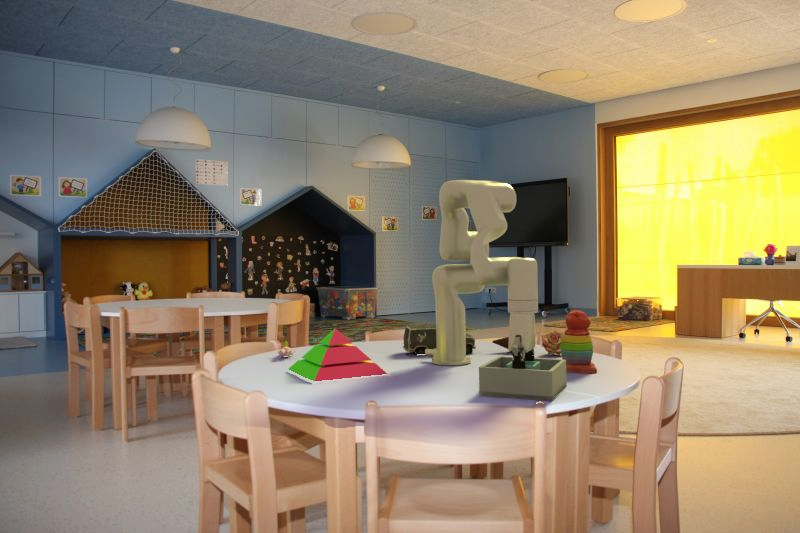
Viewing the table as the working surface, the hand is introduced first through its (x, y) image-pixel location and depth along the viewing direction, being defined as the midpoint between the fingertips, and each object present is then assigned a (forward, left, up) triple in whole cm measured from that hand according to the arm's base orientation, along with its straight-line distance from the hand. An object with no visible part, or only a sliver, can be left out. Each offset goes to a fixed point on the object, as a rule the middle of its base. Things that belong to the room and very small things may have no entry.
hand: (523, 373), depth 165 cm
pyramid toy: (-58, +5, -5) cm, 58 cm away
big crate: (0, 0, -4) cm, 4 cm away
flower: (-4, +60, -5) cm, 60 cm away
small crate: (0, 0, -3) cm, 3 cm away
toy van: (-43, +53, -5) cm, 68 cm away
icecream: (-19, +62, -5) cm, 65 cm away
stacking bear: (+8, +34, -4) cm, 35 cm away
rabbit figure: (-90, +26, -5) cm, 94 cm away
